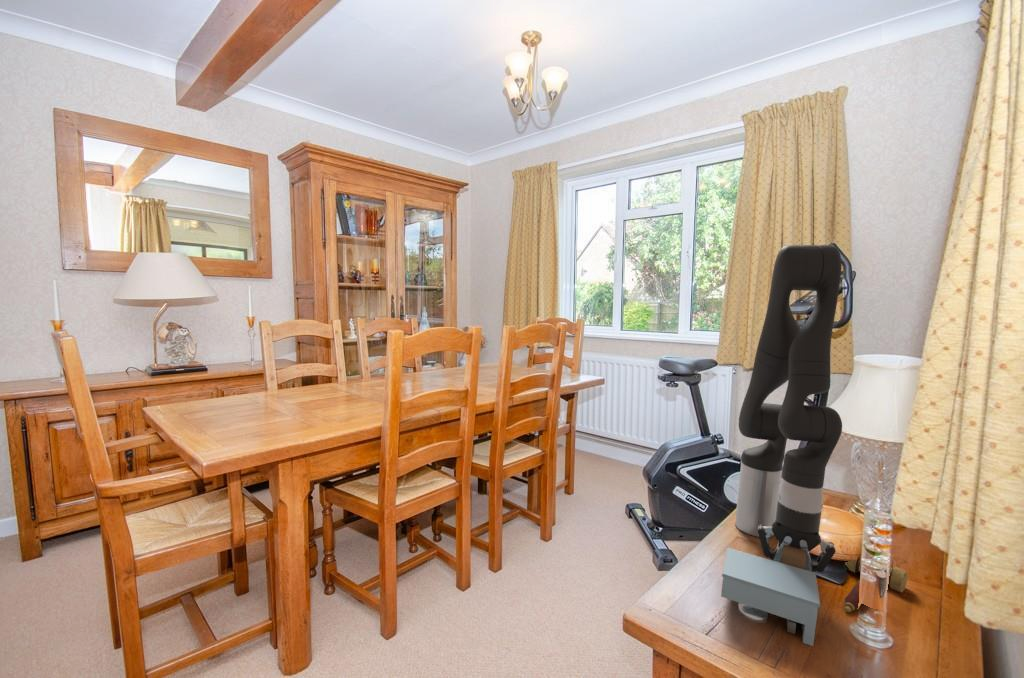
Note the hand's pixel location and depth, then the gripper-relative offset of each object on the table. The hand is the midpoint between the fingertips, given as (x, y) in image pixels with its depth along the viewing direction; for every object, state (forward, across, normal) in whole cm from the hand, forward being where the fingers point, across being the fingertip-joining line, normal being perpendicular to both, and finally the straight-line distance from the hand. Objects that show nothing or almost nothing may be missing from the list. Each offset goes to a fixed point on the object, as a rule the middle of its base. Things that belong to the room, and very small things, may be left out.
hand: (789, 581), depth 95 cm
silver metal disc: (+2, +6, +12) cm, 13 cm away
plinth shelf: (+2, +4, +10) cm, 11 cm away
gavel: (+3, -14, -8) cm, 16 cm away
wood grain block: (+2, 0, +6) cm, 6 cm away
